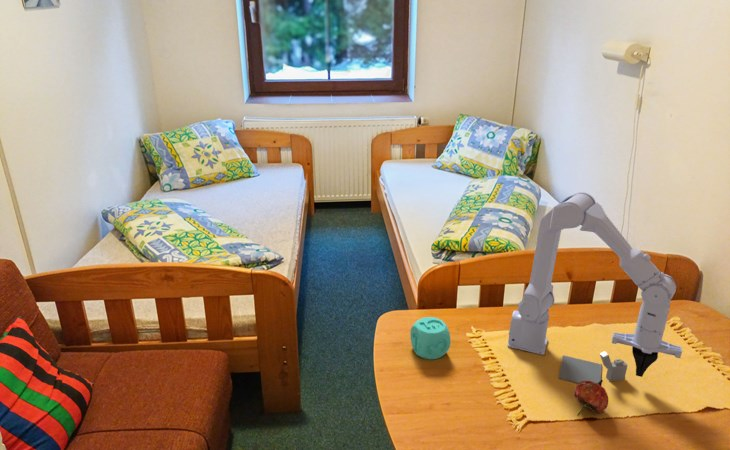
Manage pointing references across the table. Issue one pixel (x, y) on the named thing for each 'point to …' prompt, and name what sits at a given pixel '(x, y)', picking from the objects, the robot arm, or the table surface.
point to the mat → (579, 370)
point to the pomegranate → (591, 396)
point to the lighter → (614, 367)
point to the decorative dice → (430, 338)
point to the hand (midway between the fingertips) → (639, 373)
